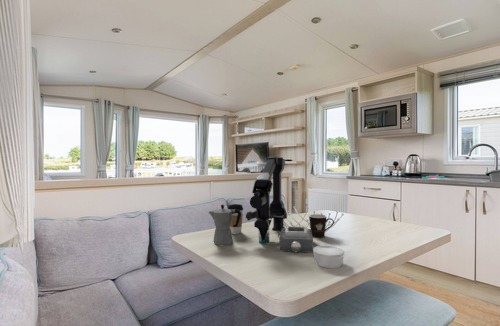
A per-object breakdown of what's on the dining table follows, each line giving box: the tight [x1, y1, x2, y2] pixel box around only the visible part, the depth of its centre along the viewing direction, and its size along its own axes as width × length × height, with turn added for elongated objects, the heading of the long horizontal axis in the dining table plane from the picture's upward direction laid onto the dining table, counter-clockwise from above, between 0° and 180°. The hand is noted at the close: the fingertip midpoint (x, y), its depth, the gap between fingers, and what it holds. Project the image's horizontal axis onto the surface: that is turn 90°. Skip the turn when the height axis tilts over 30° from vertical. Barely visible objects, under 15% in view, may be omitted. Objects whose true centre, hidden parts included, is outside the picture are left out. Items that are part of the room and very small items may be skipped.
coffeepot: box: [208, 204, 241, 246], centre depth 128 cm, size 15×9×18 cm, turn 92°
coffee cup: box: [227, 203, 244, 235], centre depth 144 cm, size 8×8×15 cm
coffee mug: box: [308, 213, 335, 239], centre depth 135 cm, size 12×9×10 cm
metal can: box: [258, 227, 270, 245], centre depth 127 cm, size 5×5×8 cm
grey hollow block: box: [278, 225, 314, 253], centre depth 121 cm, size 18×14×7 cm
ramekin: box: [312, 244, 345, 269], centre depth 101 cm, size 11×11×5 cm
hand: (264, 237), depth 127 cm, fingers open, 7 cm apart
